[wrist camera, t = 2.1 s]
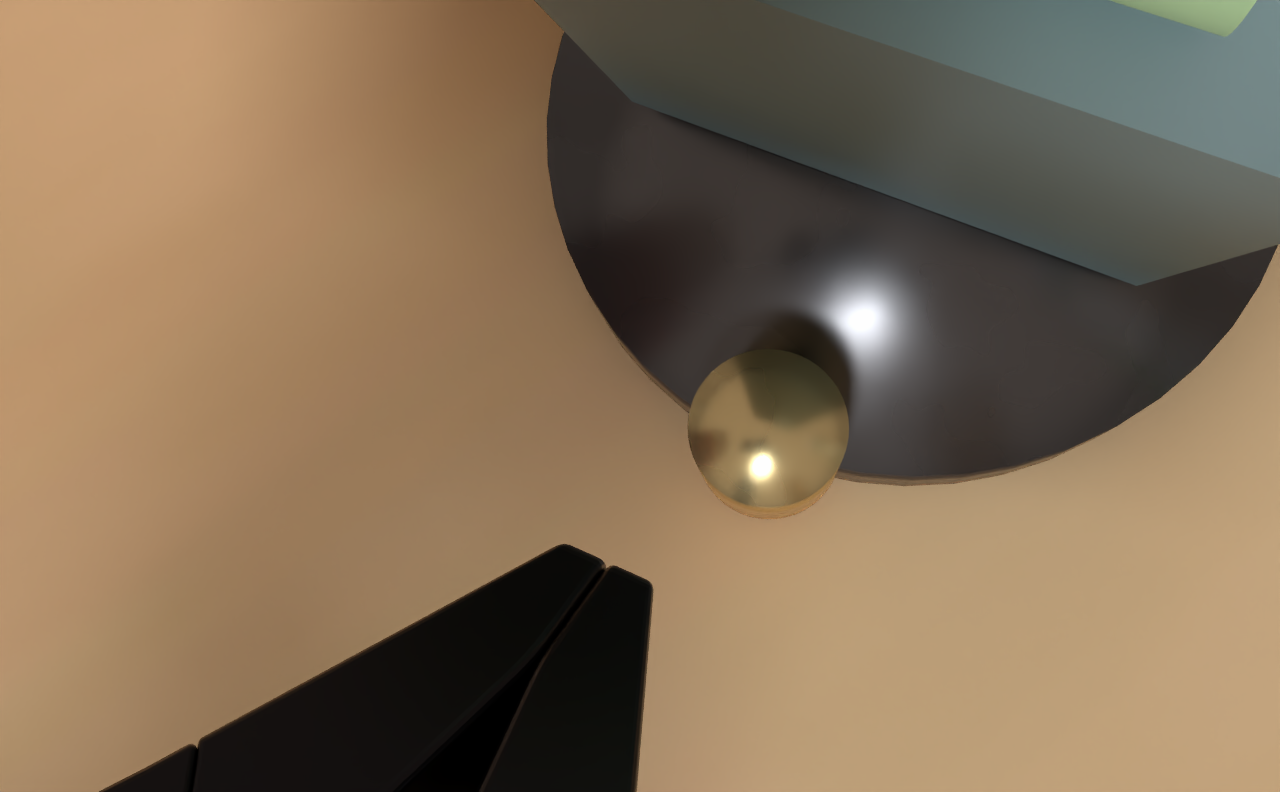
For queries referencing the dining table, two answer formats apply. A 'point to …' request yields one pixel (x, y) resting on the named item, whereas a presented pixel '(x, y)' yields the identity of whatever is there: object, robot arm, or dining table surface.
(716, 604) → the dining table surface
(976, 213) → the grey upright slab
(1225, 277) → the base
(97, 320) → the dining table surface
